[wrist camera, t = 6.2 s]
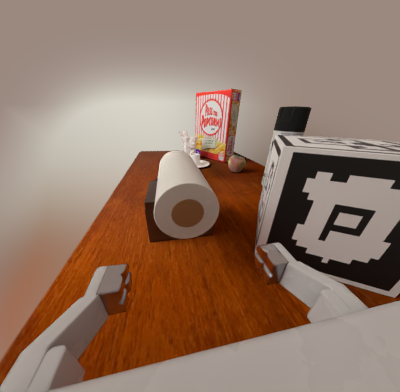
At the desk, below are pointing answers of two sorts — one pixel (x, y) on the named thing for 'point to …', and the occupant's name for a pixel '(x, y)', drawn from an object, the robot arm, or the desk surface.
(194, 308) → the desk surface
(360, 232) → the block
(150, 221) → the cradle
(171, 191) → the paper towel roll
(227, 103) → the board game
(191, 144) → the koala figurine
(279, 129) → the spray can
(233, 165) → the apple
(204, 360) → the robot arm
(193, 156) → the candle holder
